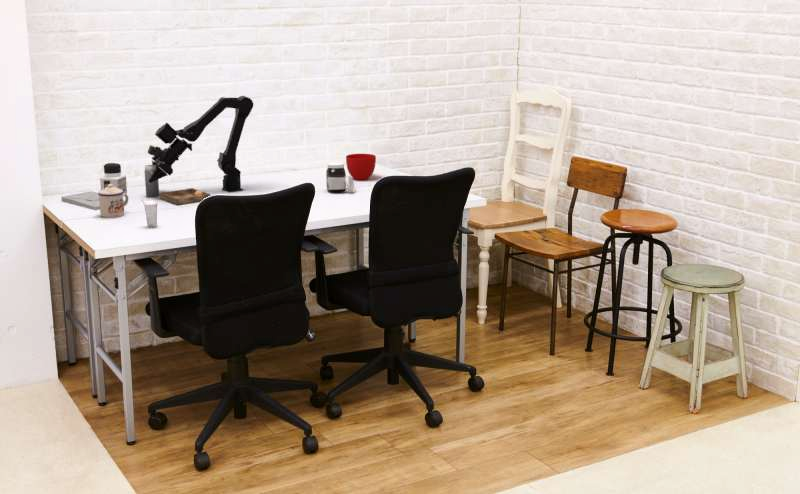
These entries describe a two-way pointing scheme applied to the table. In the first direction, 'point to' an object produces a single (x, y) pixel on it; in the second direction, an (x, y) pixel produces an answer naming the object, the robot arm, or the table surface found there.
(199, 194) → the ball
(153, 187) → the cylinder
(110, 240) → the table surface
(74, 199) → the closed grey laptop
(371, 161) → the ceramic cup
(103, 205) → the teacup with lid
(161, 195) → the tray
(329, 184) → the spread jar
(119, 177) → the container
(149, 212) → the milkshake
